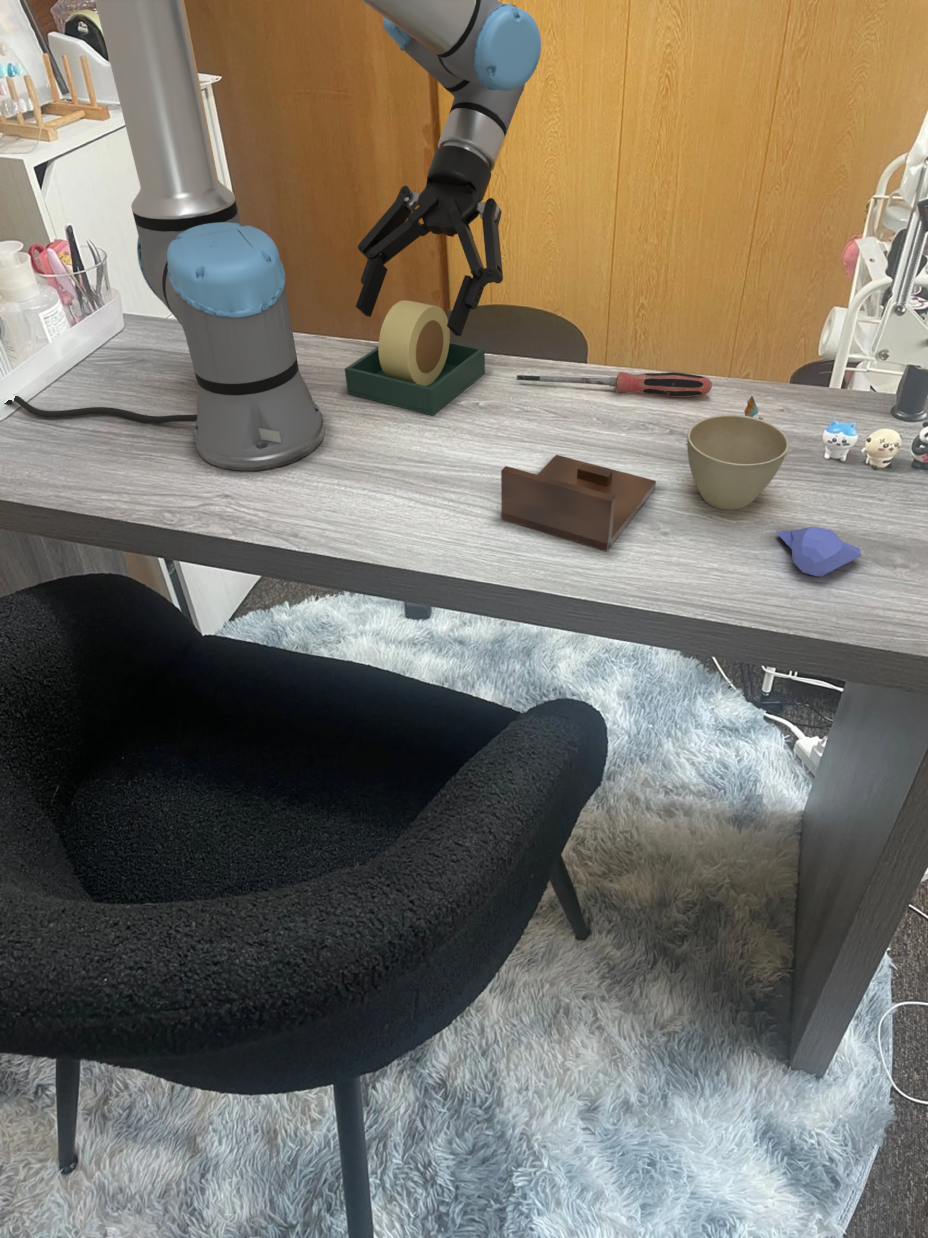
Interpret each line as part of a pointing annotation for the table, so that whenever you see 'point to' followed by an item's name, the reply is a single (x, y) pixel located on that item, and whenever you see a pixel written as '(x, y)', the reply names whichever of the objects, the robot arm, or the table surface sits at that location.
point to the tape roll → (414, 342)
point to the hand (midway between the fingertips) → (407, 321)
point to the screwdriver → (642, 383)
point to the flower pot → (734, 458)
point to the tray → (453, 380)
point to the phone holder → (574, 500)
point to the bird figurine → (818, 550)
